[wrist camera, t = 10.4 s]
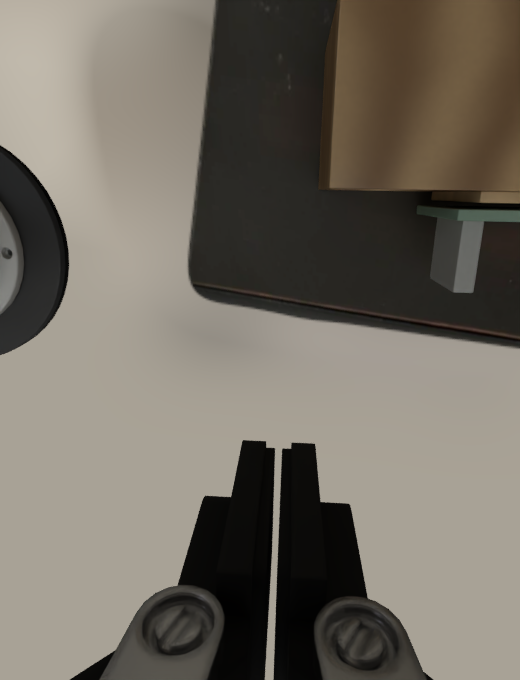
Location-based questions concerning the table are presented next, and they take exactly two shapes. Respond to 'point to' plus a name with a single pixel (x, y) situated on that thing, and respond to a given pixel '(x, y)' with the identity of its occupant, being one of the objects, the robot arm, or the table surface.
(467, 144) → the cabinet
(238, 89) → the table surface
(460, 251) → the sliding door
